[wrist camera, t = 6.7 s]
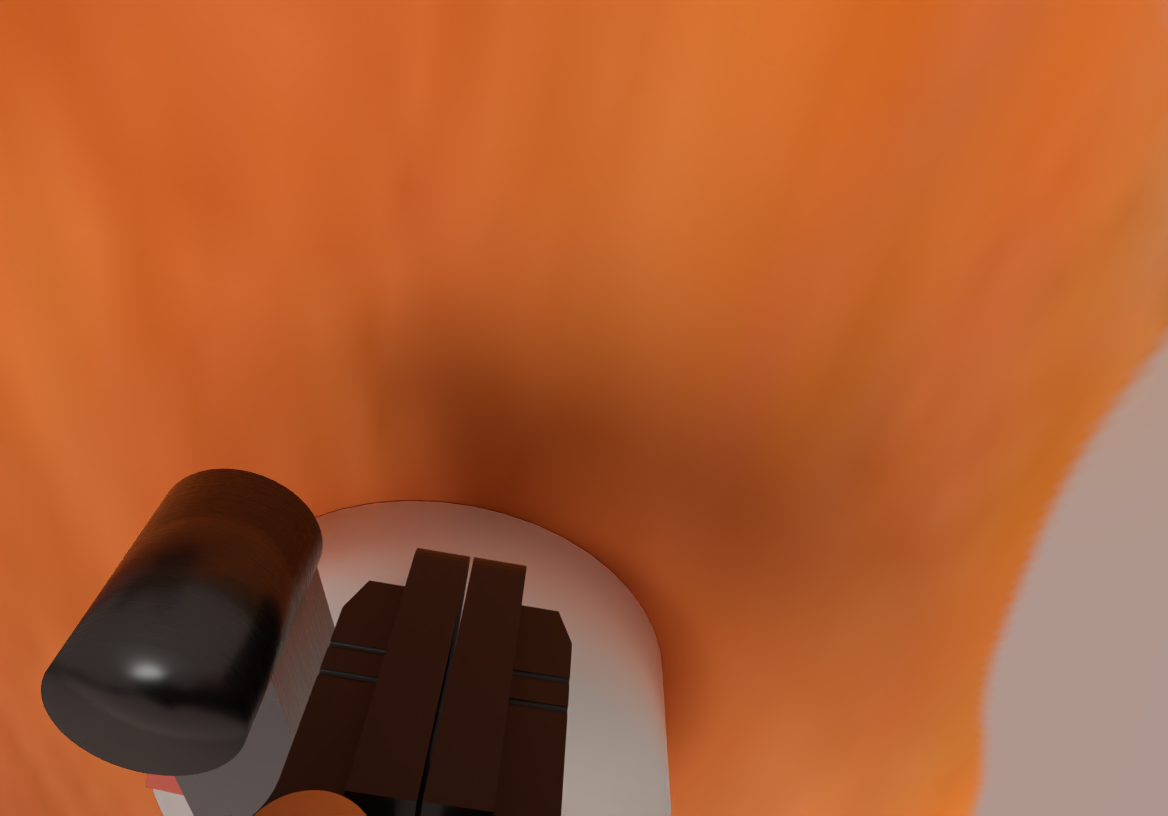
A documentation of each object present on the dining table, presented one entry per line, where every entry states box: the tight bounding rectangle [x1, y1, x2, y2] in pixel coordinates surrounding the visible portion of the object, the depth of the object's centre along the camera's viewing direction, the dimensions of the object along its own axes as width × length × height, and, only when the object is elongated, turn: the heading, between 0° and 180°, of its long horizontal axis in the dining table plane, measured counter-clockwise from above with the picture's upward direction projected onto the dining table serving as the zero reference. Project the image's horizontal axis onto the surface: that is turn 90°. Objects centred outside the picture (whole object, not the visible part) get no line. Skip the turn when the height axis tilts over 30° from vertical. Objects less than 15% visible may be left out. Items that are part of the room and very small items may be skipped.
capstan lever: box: [41, 469, 335, 816], centre depth 15 cm, size 14×4×6 cm, turn 3°
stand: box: [146, 501, 671, 816], centre depth 22 cm, size 12×12×5 cm
